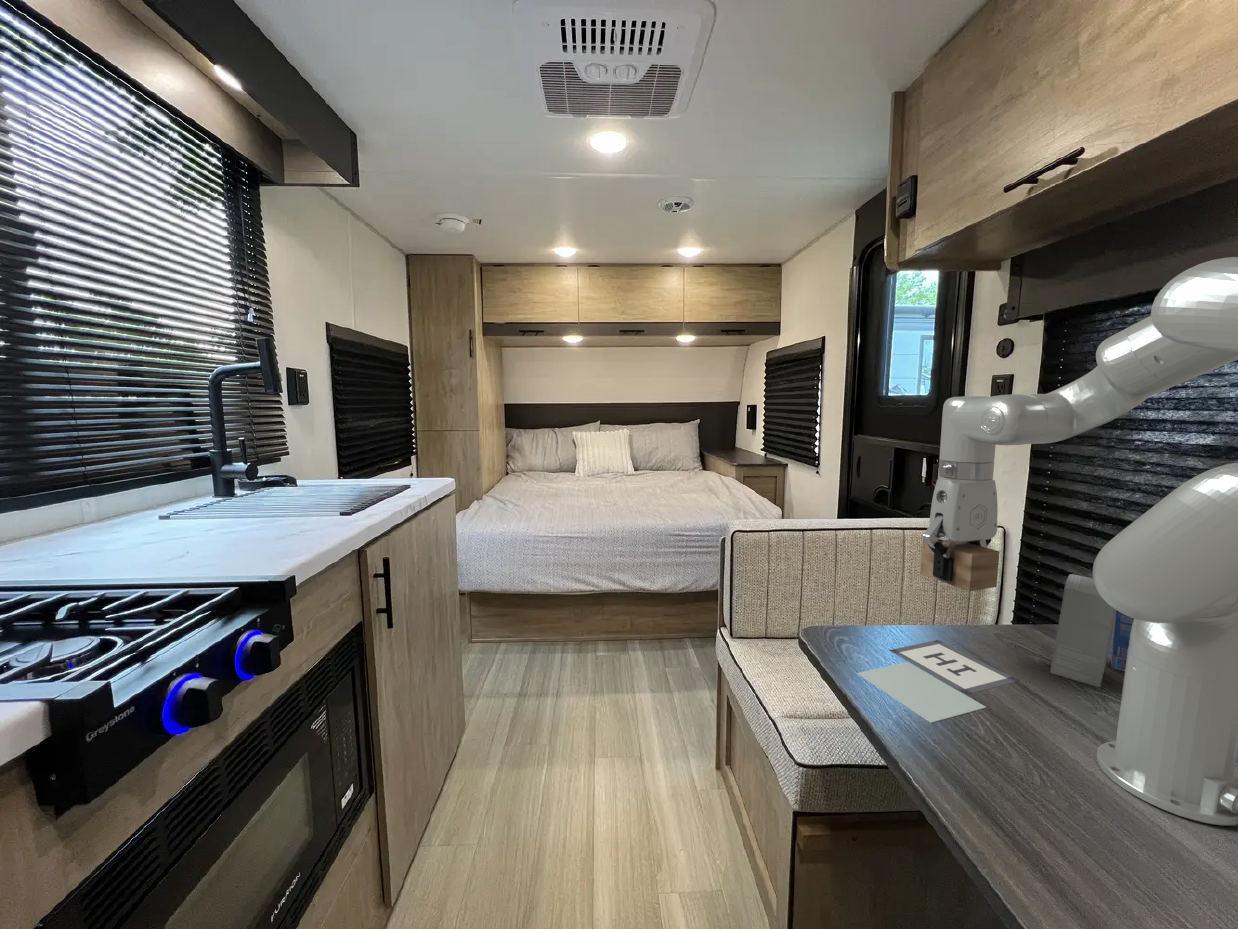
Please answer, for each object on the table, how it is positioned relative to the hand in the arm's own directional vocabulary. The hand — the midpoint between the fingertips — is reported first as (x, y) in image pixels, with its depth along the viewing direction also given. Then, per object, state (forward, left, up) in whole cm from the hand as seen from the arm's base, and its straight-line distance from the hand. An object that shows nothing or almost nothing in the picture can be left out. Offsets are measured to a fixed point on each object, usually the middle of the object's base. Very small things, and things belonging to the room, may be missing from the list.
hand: (957, 575), depth 87 cm
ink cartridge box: (-10, -31, -17) cm, 36 cm away
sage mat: (-4, +11, -16) cm, 20 cm away
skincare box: (-9, -19, -17) cm, 26 cm away
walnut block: (0, 0, -1) cm, 1 cm away
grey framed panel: (0, -1, -16) cm, 16 cm away
